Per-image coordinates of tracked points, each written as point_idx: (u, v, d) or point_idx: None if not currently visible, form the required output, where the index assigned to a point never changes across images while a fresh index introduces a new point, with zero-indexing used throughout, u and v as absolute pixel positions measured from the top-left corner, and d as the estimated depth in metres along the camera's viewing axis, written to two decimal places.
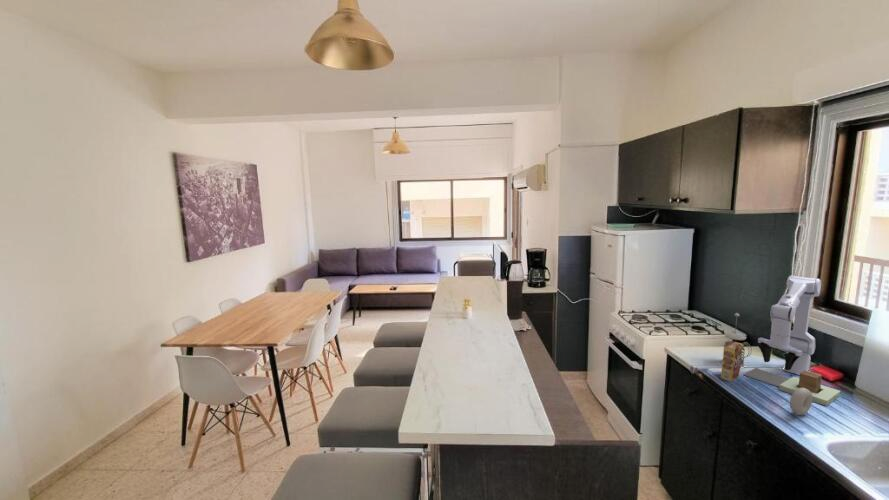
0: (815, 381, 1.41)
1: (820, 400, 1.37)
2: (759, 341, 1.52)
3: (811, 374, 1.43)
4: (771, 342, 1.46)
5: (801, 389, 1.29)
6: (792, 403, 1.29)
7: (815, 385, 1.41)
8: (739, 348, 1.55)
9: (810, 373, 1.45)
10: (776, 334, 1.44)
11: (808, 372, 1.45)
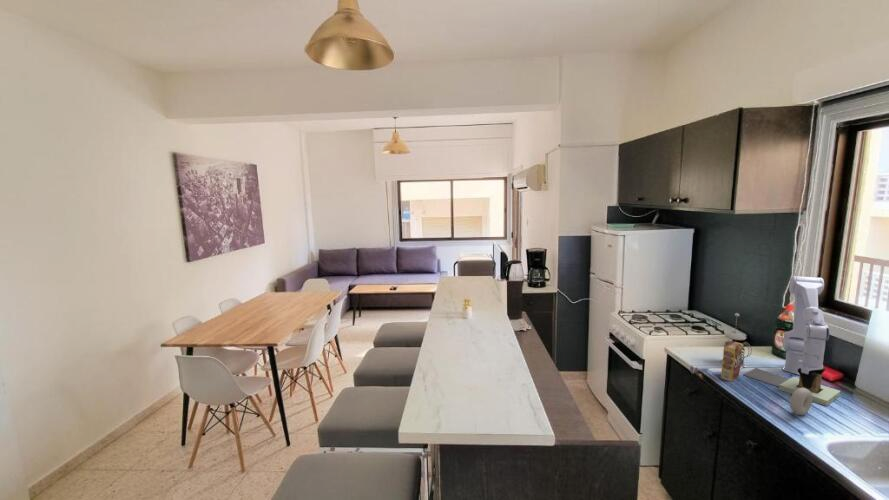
0: (815, 381, 1.41)
1: (820, 400, 1.37)
2: None
3: None
4: None
5: (801, 389, 1.29)
6: (792, 403, 1.29)
7: (815, 385, 1.41)
8: (739, 348, 1.55)
9: None
10: (813, 355, 1.41)
11: None
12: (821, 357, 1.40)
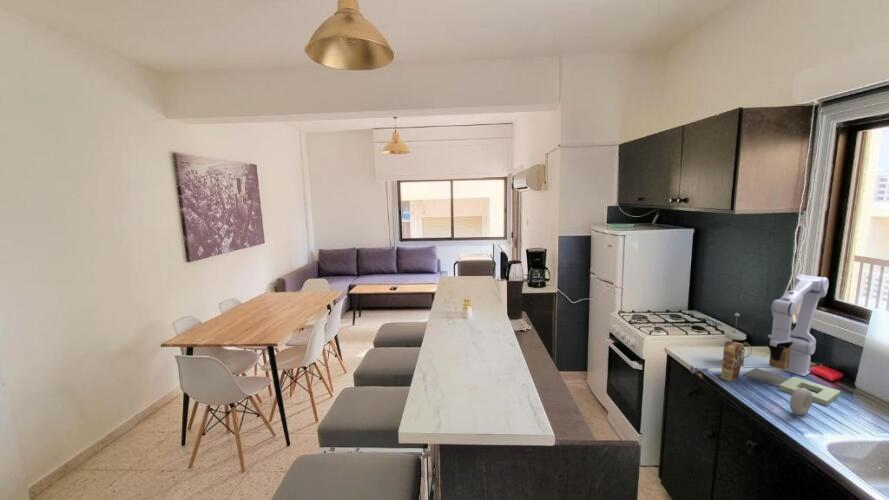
0: (784, 355, 1.49)
1: (820, 400, 1.37)
2: None
3: None
4: None
5: (801, 389, 1.29)
6: (792, 403, 1.29)
7: (784, 358, 1.49)
8: (739, 348, 1.55)
9: None
10: (777, 328, 1.50)
11: None
12: (788, 331, 1.48)
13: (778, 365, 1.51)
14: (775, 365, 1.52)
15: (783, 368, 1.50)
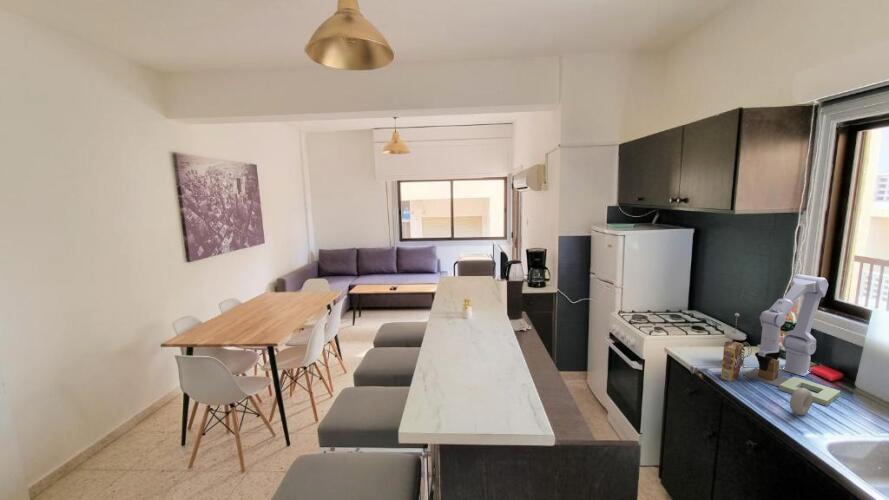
0: (772, 366, 1.53)
1: (820, 400, 1.37)
2: None
3: None
4: None
5: (801, 389, 1.29)
6: (792, 403, 1.29)
7: (772, 370, 1.53)
8: (739, 348, 1.55)
9: None
10: (764, 338, 1.55)
11: None
12: (776, 341, 1.52)
13: (767, 376, 1.55)
14: (764, 376, 1.56)
15: (771, 379, 1.54)
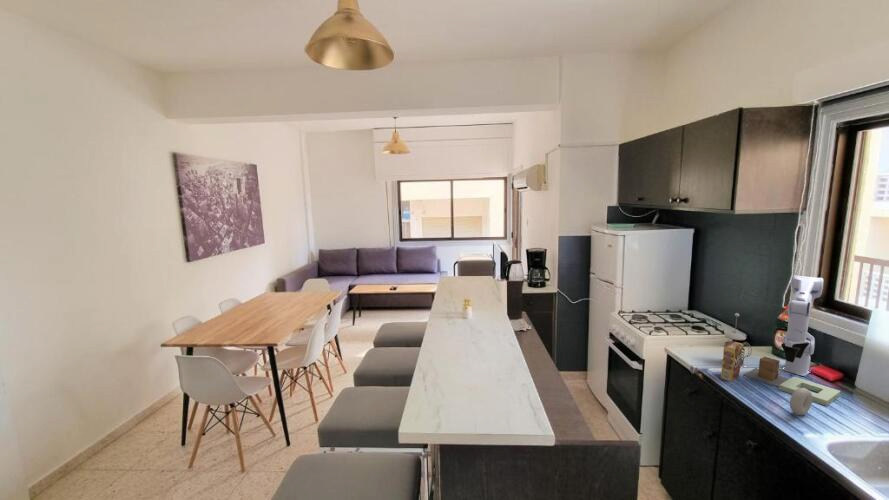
0: (772, 366, 1.53)
1: (820, 400, 1.37)
2: None
3: (769, 360, 1.56)
4: None
5: (801, 389, 1.29)
6: (792, 403, 1.29)
7: (772, 370, 1.53)
8: (739, 348, 1.55)
9: (769, 358, 1.57)
10: (794, 329, 1.49)
11: (767, 358, 1.57)
12: (804, 331, 1.47)
13: (767, 376, 1.55)
14: (764, 376, 1.56)
15: (771, 379, 1.54)
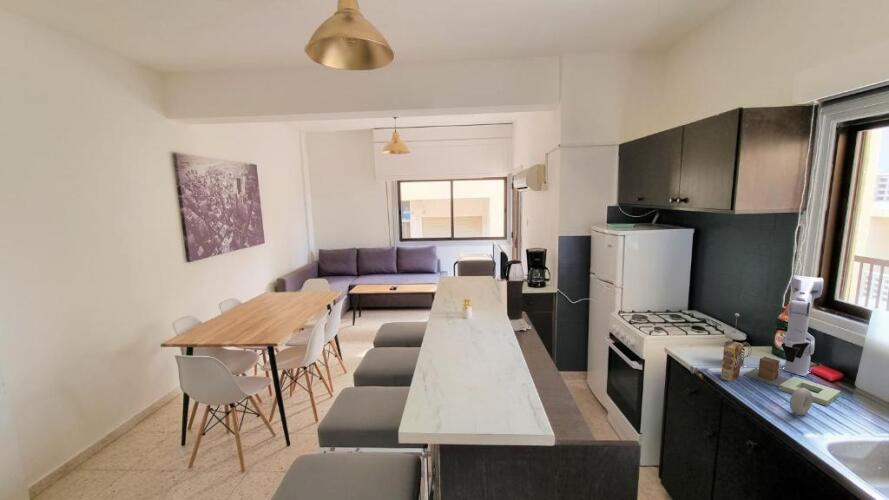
0: (772, 366, 1.53)
1: (820, 400, 1.37)
2: None
3: (769, 360, 1.56)
4: None
5: (801, 389, 1.29)
6: (792, 403, 1.29)
7: (772, 370, 1.53)
8: (739, 348, 1.55)
9: (769, 358, 1.57)
10: (794, 329, 1.49)
11: (767, 358, 1.57)
12: (804, 331, 1.47)
13: (767, 376, 1.55)
14: (764, 376, 1.56)
15: (771, 379, 1.54)
